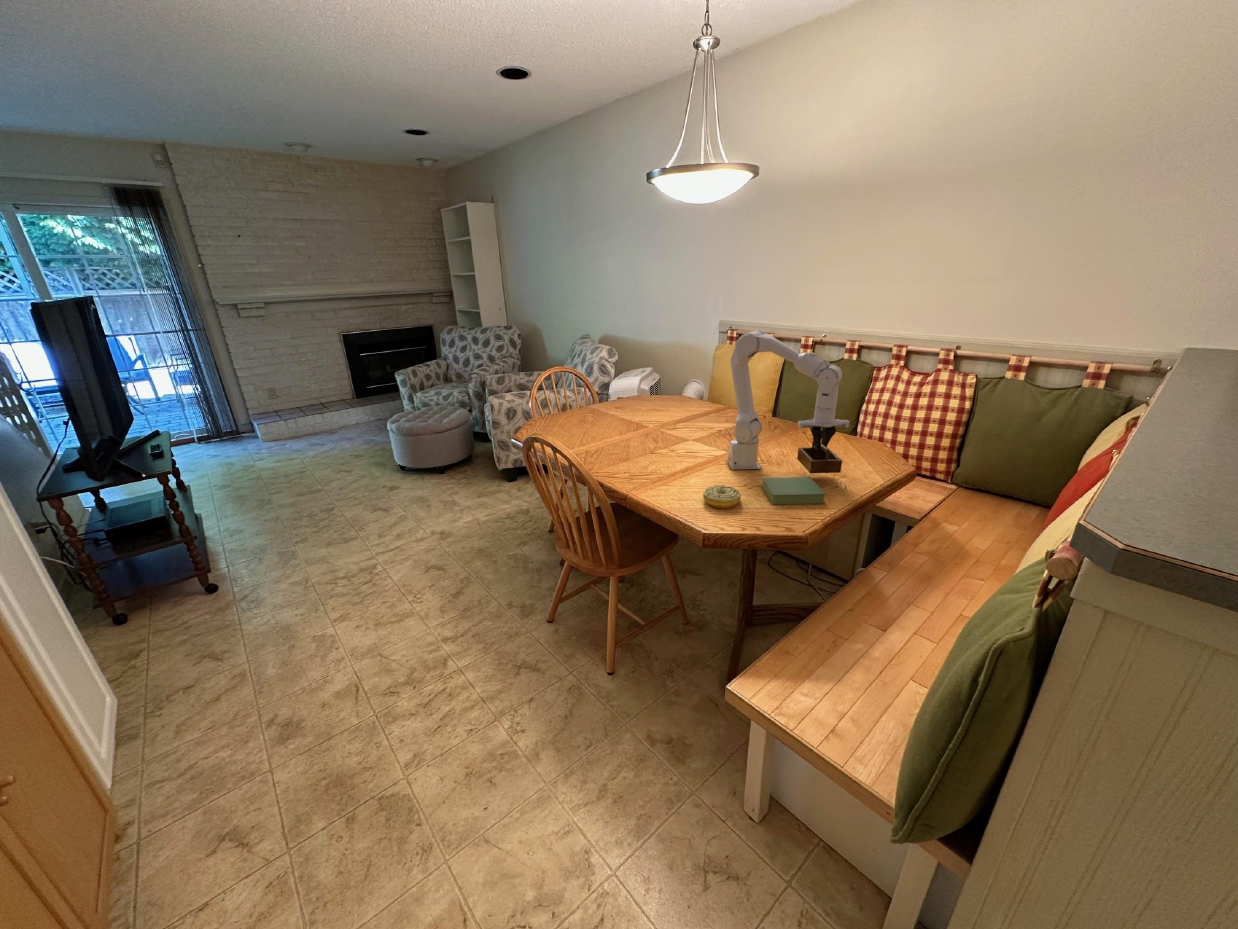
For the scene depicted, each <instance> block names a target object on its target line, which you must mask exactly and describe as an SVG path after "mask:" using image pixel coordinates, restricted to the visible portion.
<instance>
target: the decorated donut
mask: <svg viewBox="0 0 1238 929" xmlns="http://www.w3.org/2000/svg"><path fill="white" fill-rule="evenodd" d="M702 494H703V495H702V497H703V500H704V502H705V503H706V504H708V505H709V506H710V507H713V508H717V509H731V508H733V507H735V506H737V505H738V504H739V502H740V501H741V498H742V494H741V492H740V491H739V490H738V489H736V488H735V487H734V486H730V485H727V484H725V485H724V484H716V485H712V486H709V487H707V488H705V489H704V491H703V493H702Z"/></svg>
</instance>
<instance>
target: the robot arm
mask: <svg viewBox="0 0 1238 929" xmlns="http://www.w3.org/2000/svg"><path fill="white" fill-rule="evenodd" d="M734 344H735V345H734V349H733V351H732V353H731V357H730V367H731V368H730V369H731V374H732V381H733V388H734V394H735V396H734V398H735V403H736V409H737V415H736V419H735V428H734V432H733V434H734V437H735V439H734V440H730V441H729V442H728V454H727V463H728V464H729V467H730V469H731V470H760V469H761V466H760V465H759V463H758V455H759V445H760V444H759V443H760V438H759V435H760V434H761V432H762V430H763V424H762V422H761V421H760V419H759V414H758V413H757V412H756V410H755V406H754V398H753V390H752V382H751V375H750V368H749V362H750V361H751V360H752V359H753V358H754V357H755V355H757V354H758V353H772V354H774V355H776V356H778V357H780V358H783V359H784V360H786V361H789V362H790V363H793V365H794V368H795V370H796V371H798V372H799V373H802V374H803V375H805V376H806V377H809V378H810V379H813V380H814V381H816V383H817V385H818V386H817V391H816V398H815V406H814V414H813V418H811V419H805V420H804V419H803V420H798V421H797V427H798V429H801V430H803V429H809V430H810V433H811V435H812V439H814V444H815V450H816V451H820V445H821V443H822V444H823V445H824V446H825V447H828V445H829V443H830V441H831V440H832V438H833V436H835V434H837V429H836V428H846V429H847V428H849V427H850V421H849V420H848V419H838V418H837V419H836V418H835V417H836V413H837V412H836V411H837V404H838V399H839V398H838V396H839V388H840V384H839V382H840V381H841V380H842V378H843V370H842V369H841V368H840V366H838V365H837V364H835V363H831V362H830V361H828V360H826V361H824V360H822V359H821V358H819V357H817V356H816V353H814V352H813V351H810V352H808V351H805V352H802V353H801V352H799V351H797V350H796V349H795V348H793V347H790V345H787V344H786V343H784V342H782V341H781V340H779V339H777V337H774V336H773V335H771V334H769V333H765V332H764V331H763V330H754V331H751V332H747V333H746V332H745V333H744V334H742V335H741V336H740V337H739V338H738V339H737V340H736V341H735V342H734ZM830 363H831V364H830ZM821 450H822V449H821ZM822 451H824V450H822Z"/></svg>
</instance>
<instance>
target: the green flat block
mask: <svg viewBox="0 0 1238 929" xmlns="http://www.w3.org/2000/svg"><path fill="white" fill-rule="evenodd" d="M761 479H762V484H761V487H762V490H763V491H764V492H765V494H766V496H767V497H768V499H769V500H770V502H771V503H772V505H804V504H805V505H807V504H808V505H809V504H810V505H811V504H813V505H814V504H824V499H825V496H826V493H825V492H824V491H823V489H821V487H820V486H819V485H818V484H817V482H815V480H814V479H813V478H812V477H811V476H781V477H779V476H777V477H776V476H775V477H761Z"/></svg>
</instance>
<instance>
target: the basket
mask: <svg viewBox="0 0 1238 929" xmlns="http://www.w3.org/2000/svg"><path fill="white" fill-rule="evenodd" d="M811 440H812V443H811V446H810V447H807V446H806V447H805V446H803V447H797V448H798V449H797V458H796V459H797V461H798V462H799V463H800V464H801V465H802V466H803V467H804V468H805V470H807V472H808V473H809V474H837V473H838V474H839V473H840V474H841V472H842V465H843V460H842V458H840V457H839V456H838V454H836V453H834V451H832V450H831V449H830V448H829V447H828V446H827V447H825V446H824V445H823V444H822V443H821V445H820V451H816V450H815V444H814V439H813V438H812V439H811ZM821 449H822V450H824V451H822V450H821Z"/></svg>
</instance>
